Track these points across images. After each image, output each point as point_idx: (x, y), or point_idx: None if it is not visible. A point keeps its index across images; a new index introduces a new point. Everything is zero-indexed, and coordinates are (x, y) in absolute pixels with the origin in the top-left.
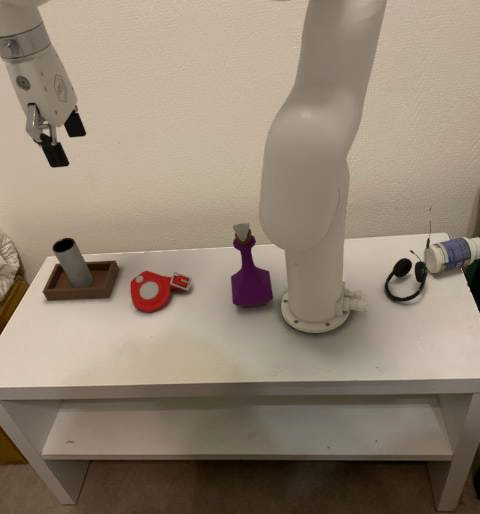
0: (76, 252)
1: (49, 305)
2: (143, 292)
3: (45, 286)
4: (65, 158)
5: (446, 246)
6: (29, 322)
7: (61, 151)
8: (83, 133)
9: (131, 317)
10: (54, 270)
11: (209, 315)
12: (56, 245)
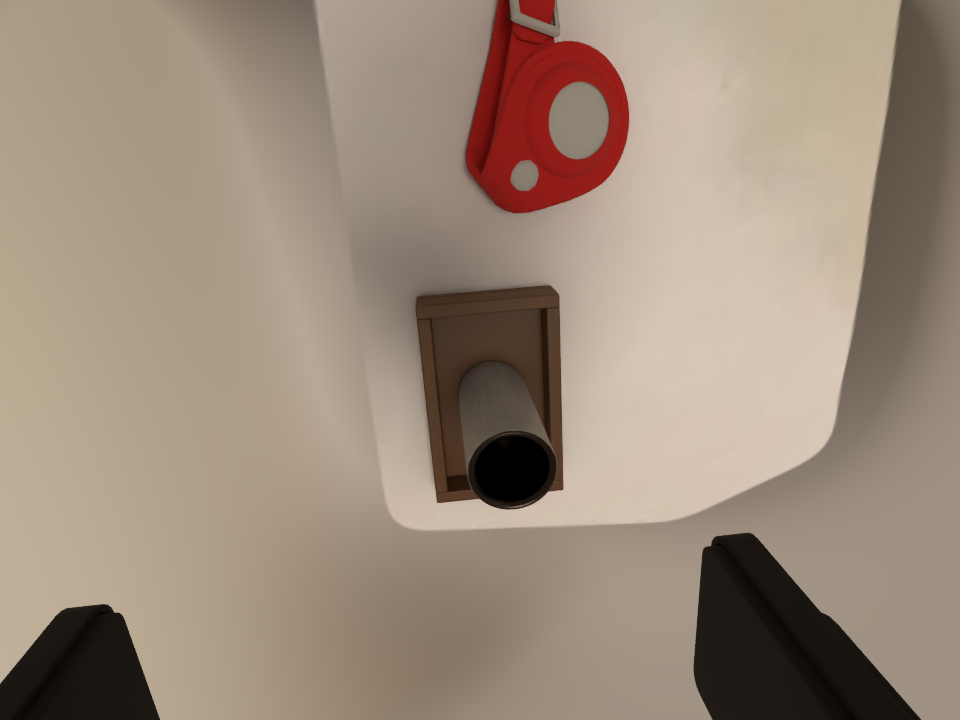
0: (516, 416)
1: (574, 457)
2: (589, 141)
3: None
4: (798, 588)
5: None
6: (634, 483)
7: (861, 674)
8: (102, 633)
9: (637, 181)
10: (470, 493)
11: None
12: (506, 499)
